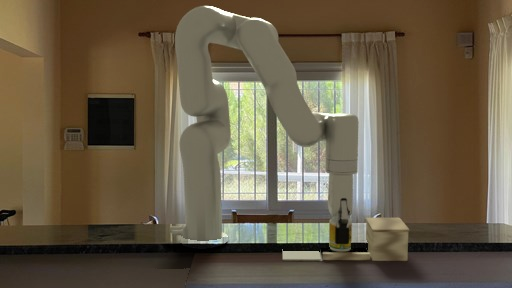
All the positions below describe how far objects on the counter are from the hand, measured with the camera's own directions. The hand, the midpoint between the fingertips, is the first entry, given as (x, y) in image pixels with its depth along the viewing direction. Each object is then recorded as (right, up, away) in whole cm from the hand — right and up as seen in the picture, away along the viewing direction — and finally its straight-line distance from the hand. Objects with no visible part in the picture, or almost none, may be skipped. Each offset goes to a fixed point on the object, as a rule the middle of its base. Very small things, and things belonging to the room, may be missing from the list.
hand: (340, 238), depth 117 cm
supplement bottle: (0, -3, 0) cm, 3 cm away
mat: (-9, -4, +1) cm, 10 cm away
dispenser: (+5, -4, 0) cm, 6 cm away
